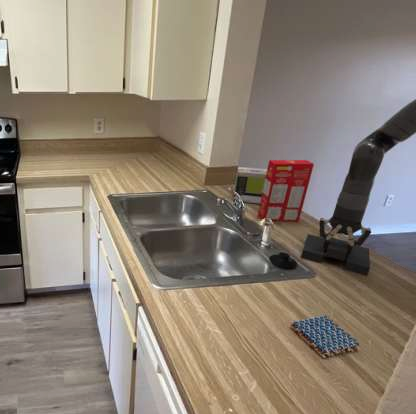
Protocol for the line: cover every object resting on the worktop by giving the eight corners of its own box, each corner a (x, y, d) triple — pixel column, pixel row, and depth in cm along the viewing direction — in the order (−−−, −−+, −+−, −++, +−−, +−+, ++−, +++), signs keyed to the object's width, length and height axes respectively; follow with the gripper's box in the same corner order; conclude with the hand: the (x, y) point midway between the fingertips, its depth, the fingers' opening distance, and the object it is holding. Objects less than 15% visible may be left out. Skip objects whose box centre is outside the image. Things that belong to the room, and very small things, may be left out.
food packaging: (292, 216, 143) (306, 160, 133) (298, 221, 138) (314, 163, 128) (257, 216, 143) (269, 160, 133) (262, 221, 138) (275, 163, 128)
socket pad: (366, 256, 113) (369, 248, 112) (366, 275, 103) (370, 267, 101) (305, 241, 123) (307, 233, 122) (300, 257, 112) (302, 249, 111)
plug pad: (345, 249, 112) (347, 241, 111) (344, 260, 105) (347, 252, 104) (327, 244, 115) (330, 237, 113) (325, 255, 108) (328, 248, 107)
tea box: (266, 198, 162) (272, 169, 156) (267, 205, 154) (274, 175, 148) (233, 194, 167) (238, 165, 161) (233, 201, 159) (238, 171, 153)
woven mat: (287, 326, 83) (289, 320, 82) (322, 319, 85) (324, 313, 85) (321, 359, 74) (324, 352, 73) (360, 350, 76) (363, 344, 75)
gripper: (323, 203, 104) (309, 249, 111) (381, 214, 96) (362, 263, 103) (325, 196, 110) (312, 241, 116) (380, 205, 102) (362, 253, 109)
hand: (336, 251), depth 110 cm, fingers closed on plug pad, 5 cm apart
